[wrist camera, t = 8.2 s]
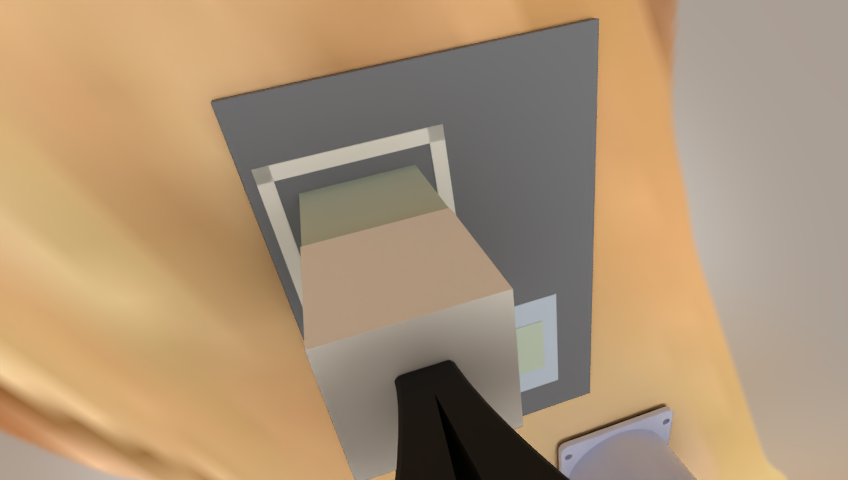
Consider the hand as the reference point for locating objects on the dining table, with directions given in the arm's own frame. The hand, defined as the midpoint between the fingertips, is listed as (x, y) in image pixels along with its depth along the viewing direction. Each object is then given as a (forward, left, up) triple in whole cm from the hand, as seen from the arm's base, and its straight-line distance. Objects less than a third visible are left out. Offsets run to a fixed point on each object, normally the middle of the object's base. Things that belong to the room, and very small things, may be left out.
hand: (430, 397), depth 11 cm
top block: (0, 0, -4) cm, 5 cm away
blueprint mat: (-4, -3, -9) cm, 11 cm away
